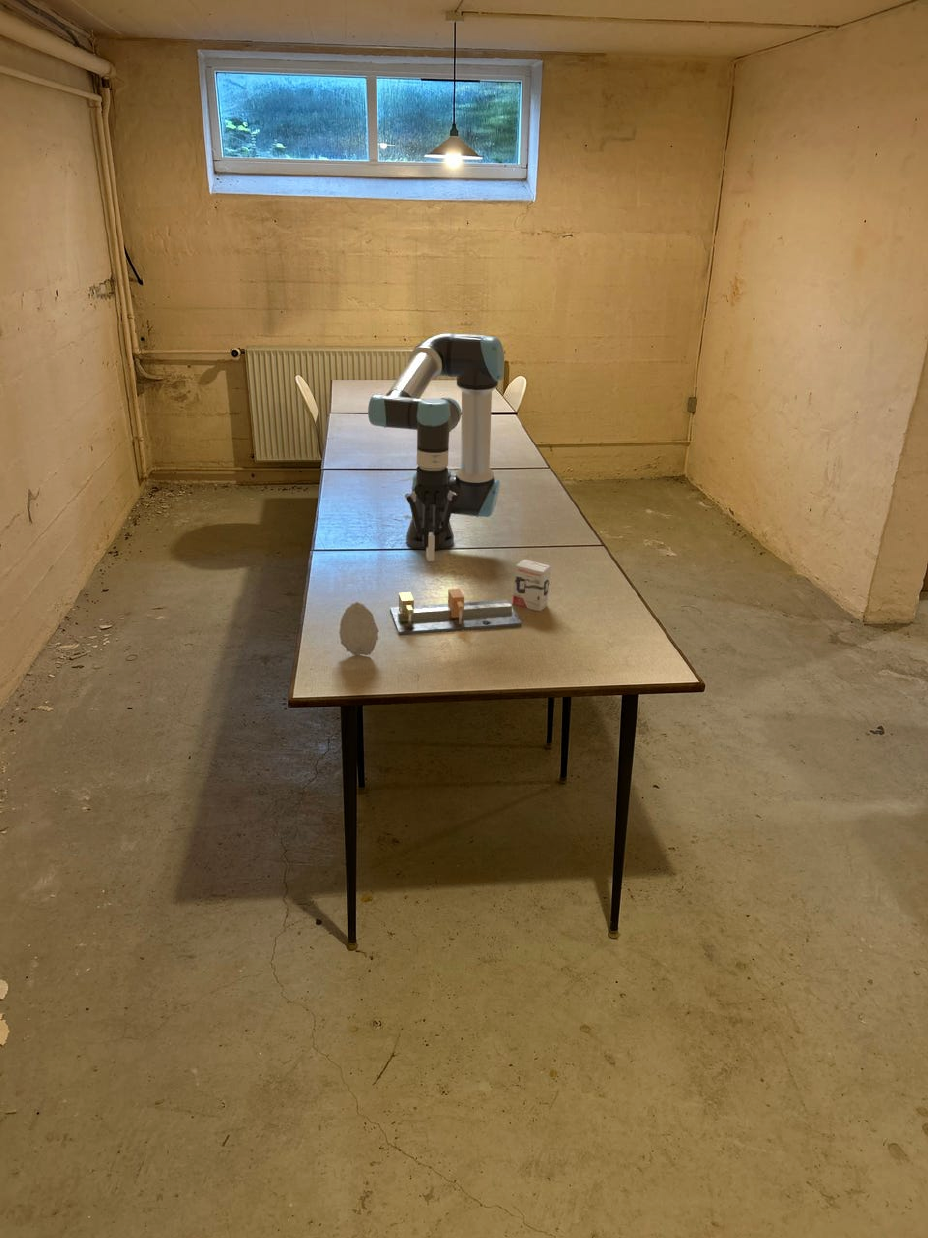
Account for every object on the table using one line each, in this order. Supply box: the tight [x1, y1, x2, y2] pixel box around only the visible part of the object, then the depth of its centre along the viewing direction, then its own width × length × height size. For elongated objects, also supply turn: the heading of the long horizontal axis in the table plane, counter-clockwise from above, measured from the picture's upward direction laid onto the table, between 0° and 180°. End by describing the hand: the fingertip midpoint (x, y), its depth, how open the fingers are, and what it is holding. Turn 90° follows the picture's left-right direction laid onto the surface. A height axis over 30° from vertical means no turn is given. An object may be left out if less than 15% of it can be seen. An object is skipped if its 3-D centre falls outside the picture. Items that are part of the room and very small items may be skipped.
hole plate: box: [389, 599, 523, 636], centre depth 221 cm, size 14×32×1 cm, turn 103°
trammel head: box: [447, 588, 465, 624], centre depth 218 cm, size 9×3×6 cm, turn 13°
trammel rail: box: [398, 591, 513, 628], centre depth 218 cm, size 9×30×6 cm, turn 103°
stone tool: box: [338, 601, 379, 656], centre depth 198 cm, size 9×3×15 cm, turn 93°
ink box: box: [512, 559, 552, 612], centre depth 228 cm, size 8×5×12 cm, turn 60°
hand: (430, 558), depth 212 cm, fingers closed
